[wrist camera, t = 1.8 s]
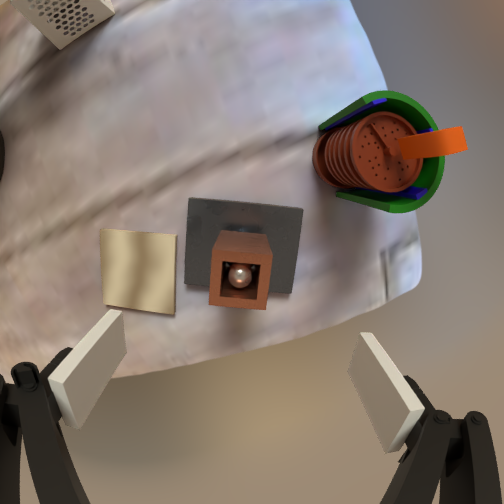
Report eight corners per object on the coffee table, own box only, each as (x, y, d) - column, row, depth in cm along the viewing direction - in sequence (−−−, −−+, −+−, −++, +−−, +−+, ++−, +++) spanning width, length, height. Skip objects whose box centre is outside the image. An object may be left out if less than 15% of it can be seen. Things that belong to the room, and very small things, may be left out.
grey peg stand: (186, 279, 39) (162, 323, 27) (190, 197, 36) (164, 207, 24) (289, 289, 40) (307, 336, 27) (301, 208, 37) (327, 223, 25)
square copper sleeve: (217, 272, 34) (208, 304, 25) (221, 230, 33) (212, 249, 24) (260, 276, 34) (265, 310, 26) (265, 234, 33) (272, 255, 24)
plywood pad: (106, 301, 40) (103, 303, 39) (103, 228, 37) (99, 229, 36) (175, 311, 40) (173, 314, 39) (177, 234, 37) (175, 236, 36)
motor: (296, 136, 35) (350, 95, 15) (353, 109, 34) (441, 62, 14) (333, 206, 37) (415, 237, 17) (387, 176, 36) (491, 185, 17)
